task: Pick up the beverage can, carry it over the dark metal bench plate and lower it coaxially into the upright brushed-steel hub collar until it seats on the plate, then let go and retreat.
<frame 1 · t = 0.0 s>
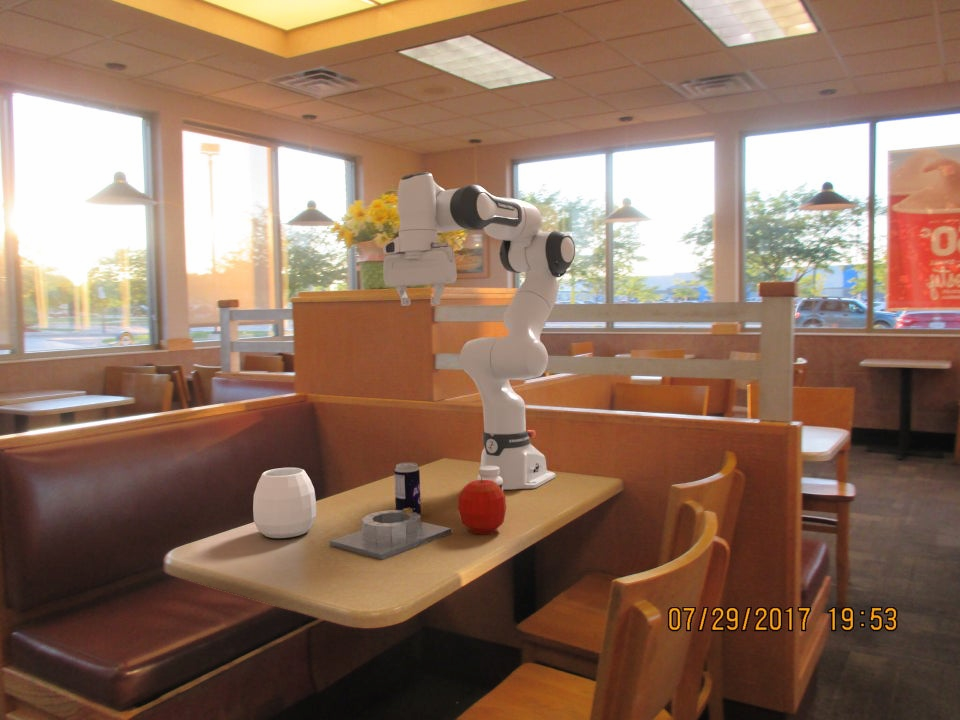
hand: (420, 305, 173), 48 cm above the table, fingers open, 8 cm apart
hub plate: (392, 539, 155), on the table
apple: (483, 531, 159), on the table
beverage can: (408, 517, 172), on the table
cup: (286, 534, 162), on the table
pill bottle: (490, 516, 171), on the table
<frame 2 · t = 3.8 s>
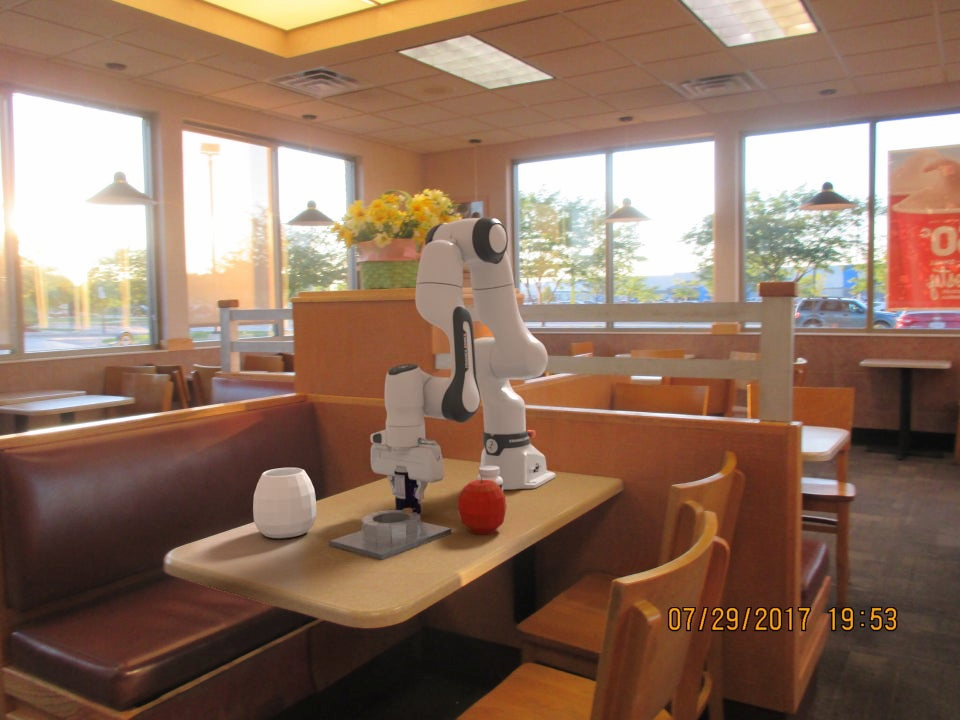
hand: (407, 496, 172), 5 cm above the table, fingers closed on beverage can, 6 cm apart
beverage can: (408, 517, 172), on the table, touching gripper
everything else where it was.
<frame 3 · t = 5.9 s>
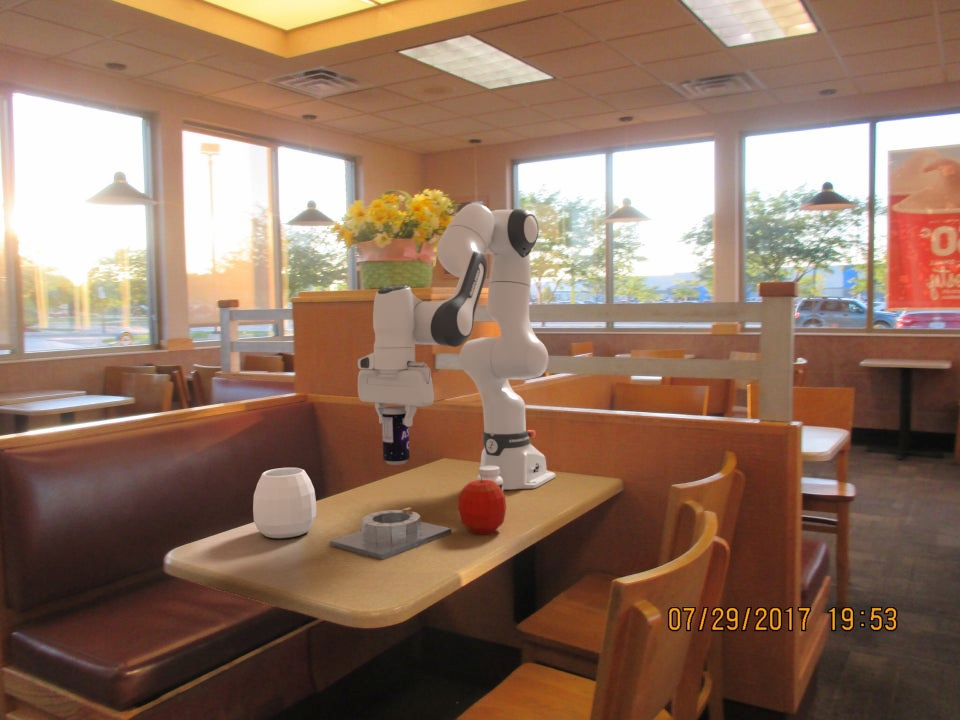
hand: (395, 424, 163), 22 cm above the table, fingers closed on beverage can, 6 cm apart
beverage can: (396, 463, 163), point 14 cm above the table, touching gripper
everything else where it was.
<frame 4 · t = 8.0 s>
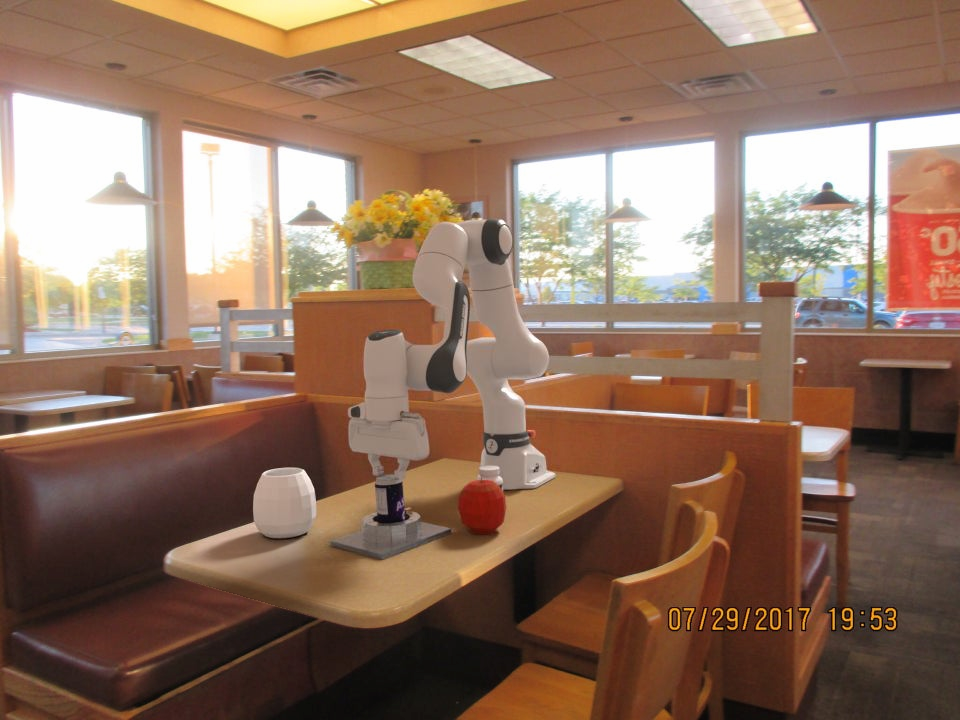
hand: (389, 477, 154), 13 cm above the table, fingers open, 5 cm apart
beverage can: (392, 534, 155), point 1 cm above the table, touching gripper, hub plate
everything else where it was.
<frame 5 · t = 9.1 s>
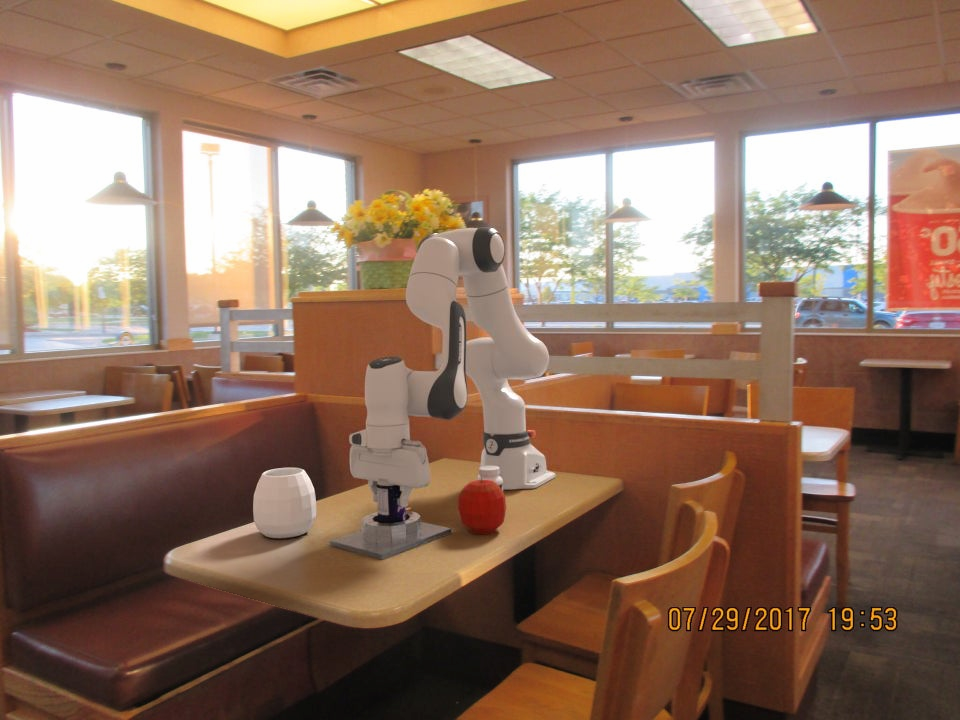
hand: (390, 504, 155), 7 cm above the table, fingers closed on beverage can, 6 cm apart
beverage can: (392, 535, 155), point 1 cm above the table, touching gripper, hub plate
everything else where it was.
when the fingers open (7 cm above the table, at t = 10.0 s): beverage can stays where it is, resting on hub plate.
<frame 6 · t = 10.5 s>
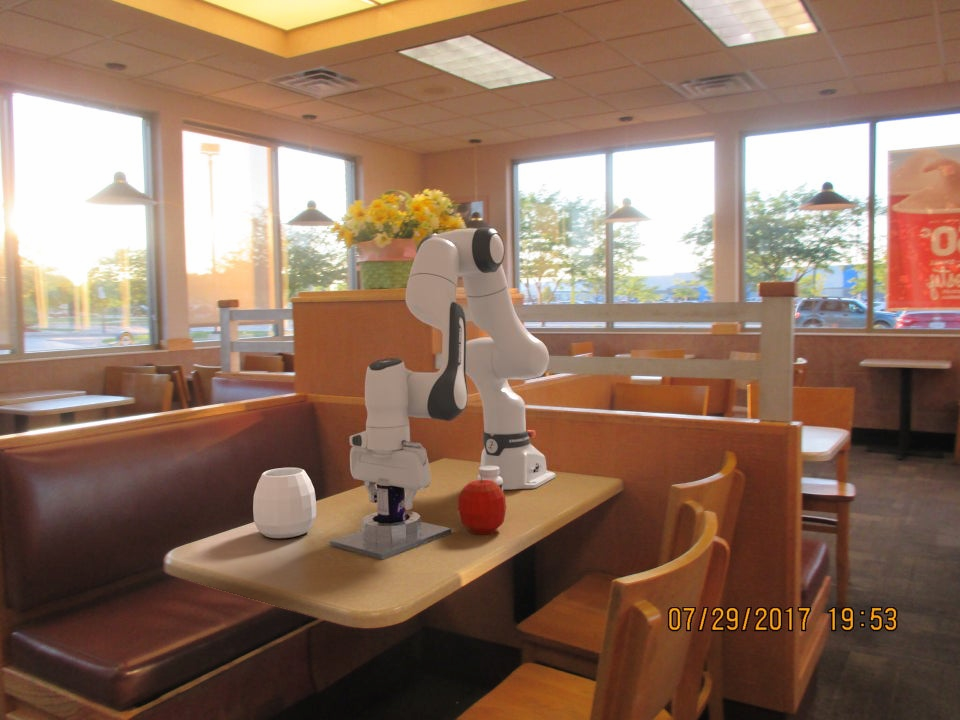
hand: (390, 505, 155), 7 cm above the table, fingers open, 8 cm apart
beverage can: (392, 535, 155), point 1 cm above the table, touching hub plate
everything else where it was.
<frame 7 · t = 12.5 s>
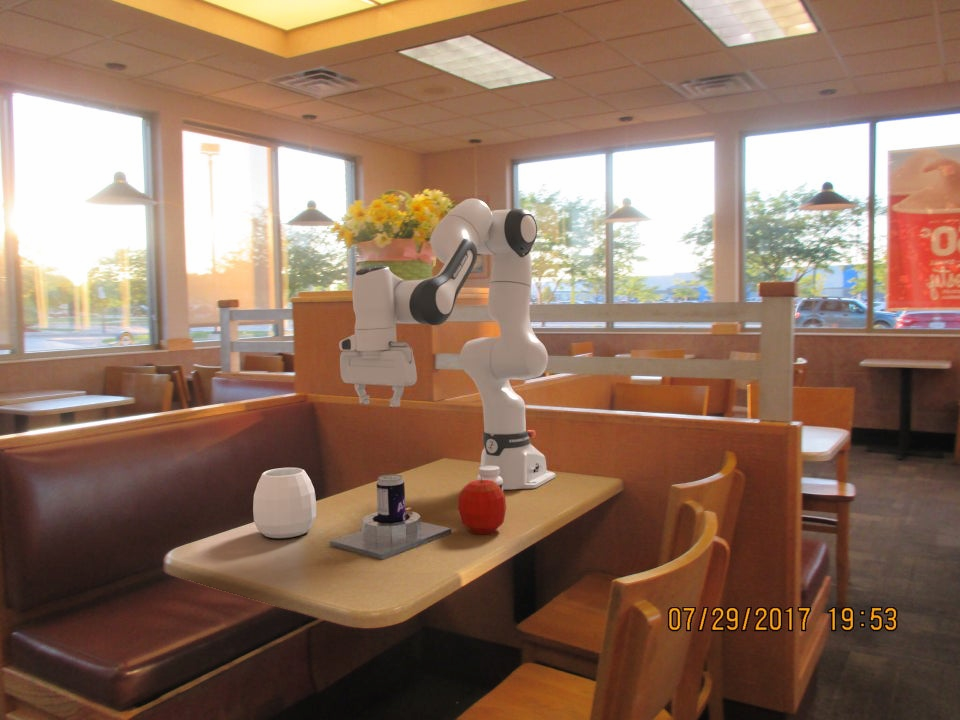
hand: (379, 405, 164), 27 cm above the table, fingers open, 8 cm apart
nothing on the table moved.
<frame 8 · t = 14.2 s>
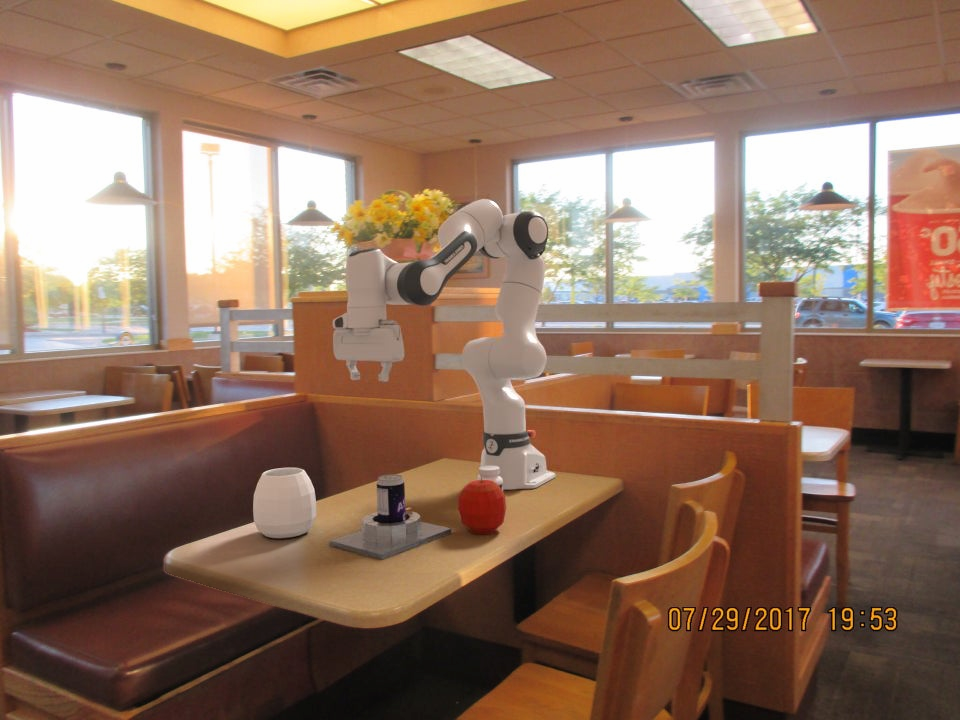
hand: (369, 380, 172), 31 cm above the table, fingers open, 8 cm apart
nothing on the table moved.
at the end: beverage can 0.1 cm from the hub plate (horizontally); beverage can point 0.8 cm above the table; beverage can tilted 0° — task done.
